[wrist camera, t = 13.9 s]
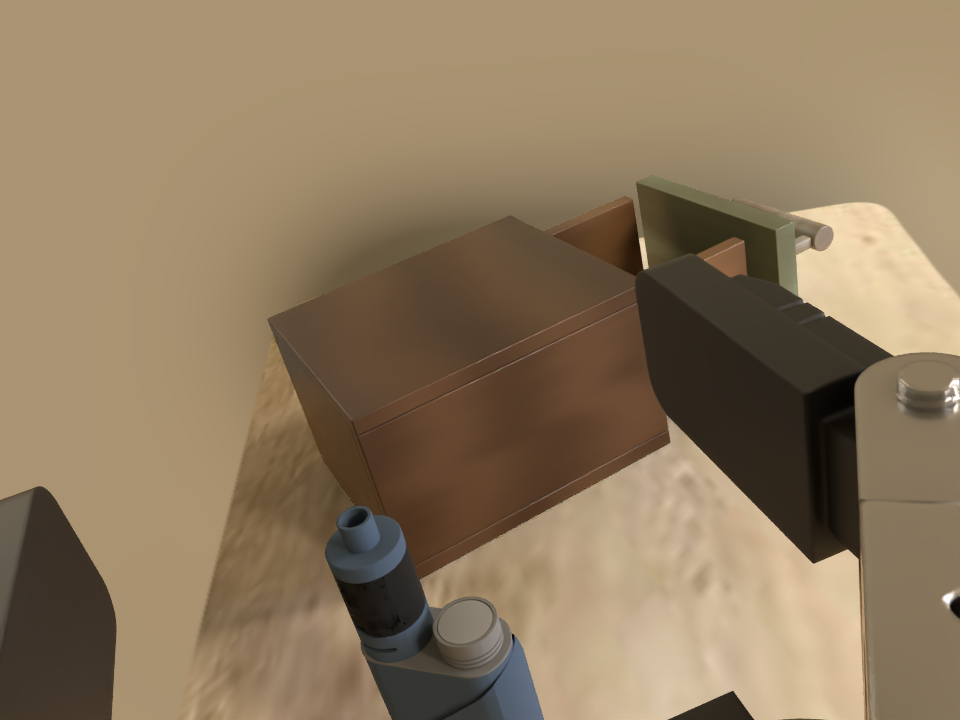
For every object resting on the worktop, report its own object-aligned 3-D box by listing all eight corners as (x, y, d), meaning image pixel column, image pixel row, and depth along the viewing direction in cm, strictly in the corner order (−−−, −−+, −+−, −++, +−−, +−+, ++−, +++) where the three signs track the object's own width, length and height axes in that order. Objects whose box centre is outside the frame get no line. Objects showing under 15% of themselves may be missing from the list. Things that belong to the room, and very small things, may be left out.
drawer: (725, 255, 59) (715, 147, 56) (867, 312, 50) (865, 187, 46) (481, 372, 54) (452, 261, 50) (589, 460, 44) (562, 331, 41)
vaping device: (436, 734, 34) (338, 485, 28) (570, 761, 32) (495, 497, 26) (407, 797, 32) (295, 544, 26) (547, 831, 30) (461, 562, 24)
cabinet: (541, 352, 56) (510, 214, 51) (670, 442, 46) (646, 280, 41) (321, 458, 52) (266, 318, 47) (410, 584, 41) (351, 421, 37)
